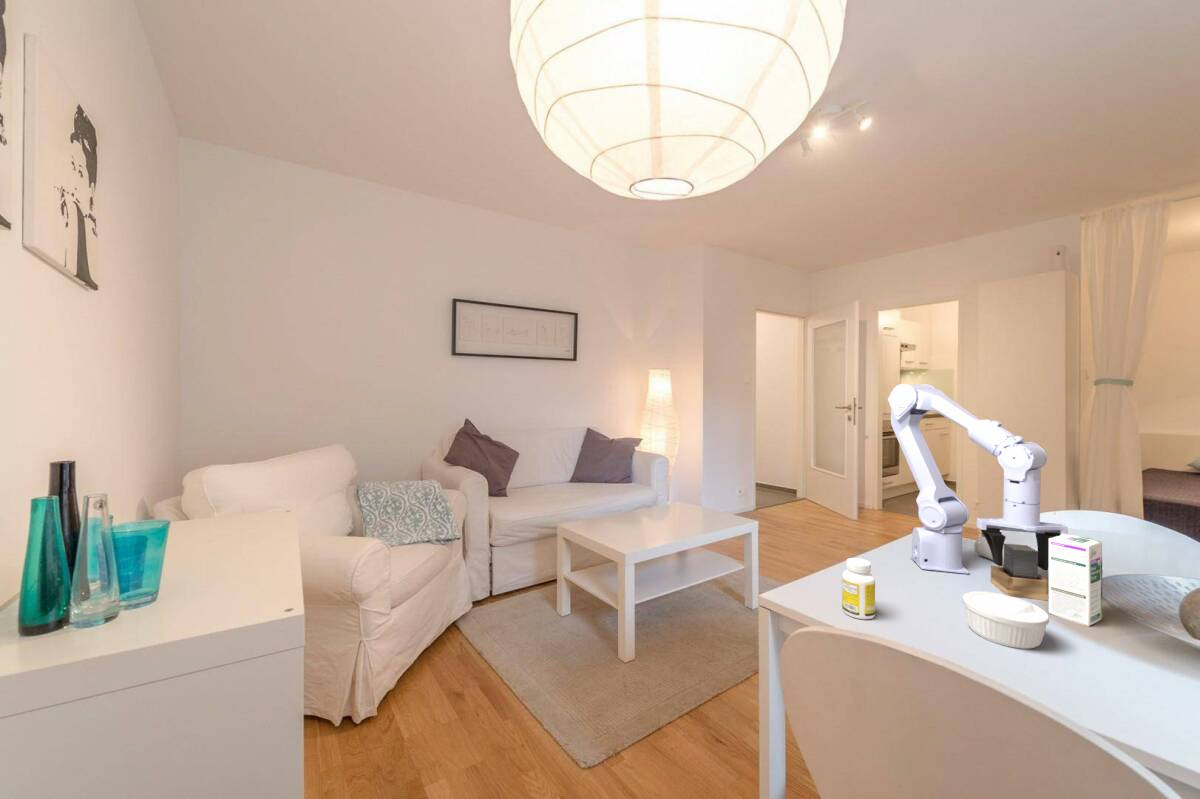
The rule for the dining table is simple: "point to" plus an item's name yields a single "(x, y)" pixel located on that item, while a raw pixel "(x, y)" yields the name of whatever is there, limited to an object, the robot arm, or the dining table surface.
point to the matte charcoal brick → (1020, 561)
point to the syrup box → (1075, 579)
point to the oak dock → (1020, 585)
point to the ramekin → (1005, 619)
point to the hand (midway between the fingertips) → (1019, 566)
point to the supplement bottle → (858, 589)
